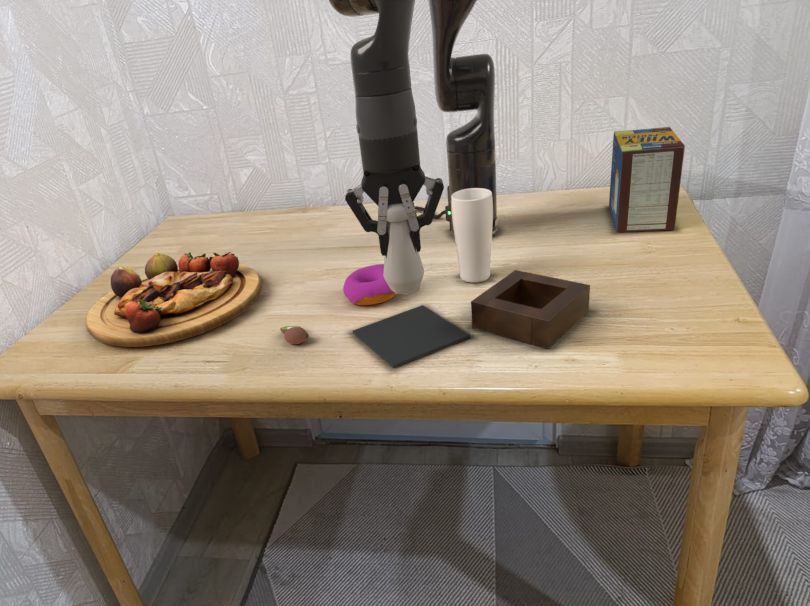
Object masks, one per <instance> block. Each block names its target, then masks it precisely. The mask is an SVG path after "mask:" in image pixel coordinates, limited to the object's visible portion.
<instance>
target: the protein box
mask: <svg viewBox="0 0 810 606" xmlns="http://www.w3.org/2000/svg"><path fill="white" fill-rule="evenodd" d="M685 150H686V145H685V143H683V142H682V140H681V138H679V136H678V135H677V134H676V133H675V131H674V130H673V129H672V128H671V127H670V126H664V127H651V128H639V129H628V130H617V131H616V130H615V131H613V136H612V152H611V154H612V155H611V169H610V170H611V171H610V181H609V182H610V184H609V199H608V208H609V211H610V215H611V218H612V223H613V226H614V230H615V233H628V232H629V233H631V232H654V231H656V232H657V231H674V230H675V229H676V224H677V223H676V222H677V221H676V220H677V213H678V207H679V200H680V199H679V198H680V191H681V183H682V174H683V165H684V158H685Z"/></svg>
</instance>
